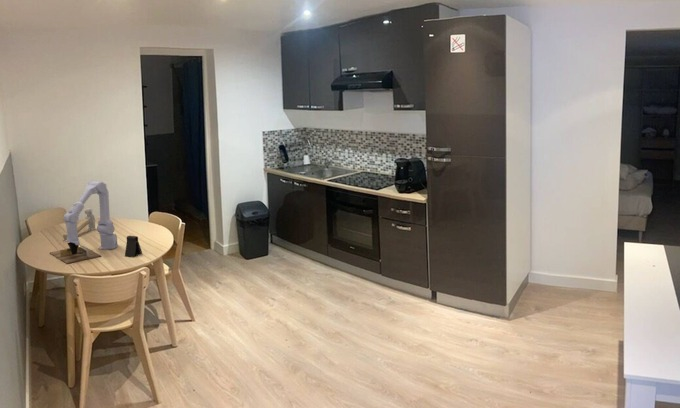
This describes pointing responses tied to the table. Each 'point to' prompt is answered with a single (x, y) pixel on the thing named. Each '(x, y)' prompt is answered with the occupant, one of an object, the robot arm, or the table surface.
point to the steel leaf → (83, 251)
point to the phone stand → (132, 247)
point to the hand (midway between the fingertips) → (74, 254)
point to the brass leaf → (67, 251)
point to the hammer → (85, 222)
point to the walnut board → (75, 256)
